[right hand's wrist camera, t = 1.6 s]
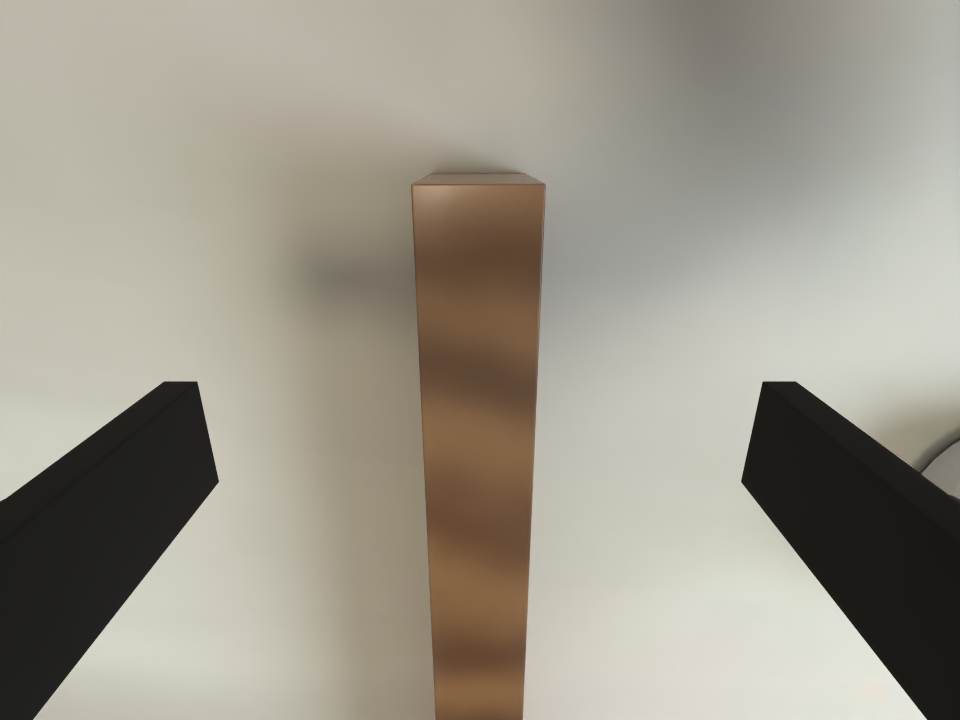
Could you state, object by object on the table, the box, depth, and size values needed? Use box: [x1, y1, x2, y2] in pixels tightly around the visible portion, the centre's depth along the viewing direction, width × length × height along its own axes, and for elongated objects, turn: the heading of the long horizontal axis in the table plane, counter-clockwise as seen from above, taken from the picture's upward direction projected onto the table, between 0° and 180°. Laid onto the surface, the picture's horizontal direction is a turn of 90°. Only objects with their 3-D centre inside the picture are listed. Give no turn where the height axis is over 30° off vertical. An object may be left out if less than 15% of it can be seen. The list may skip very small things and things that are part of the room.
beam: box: [411, 173, 546, 720], centre depth 31 cm, size 51×5×8 cm, turn 0°
